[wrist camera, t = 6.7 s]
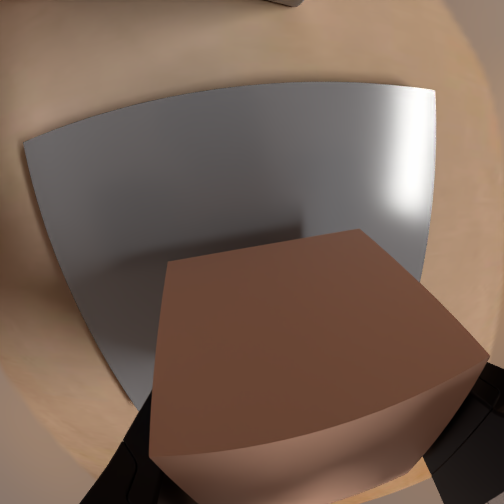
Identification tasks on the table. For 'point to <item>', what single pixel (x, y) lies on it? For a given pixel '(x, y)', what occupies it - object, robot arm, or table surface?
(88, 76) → the table surface
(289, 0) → the coffee box
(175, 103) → the slate board
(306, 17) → the table surface
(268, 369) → the terracotta block
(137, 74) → the table surface
